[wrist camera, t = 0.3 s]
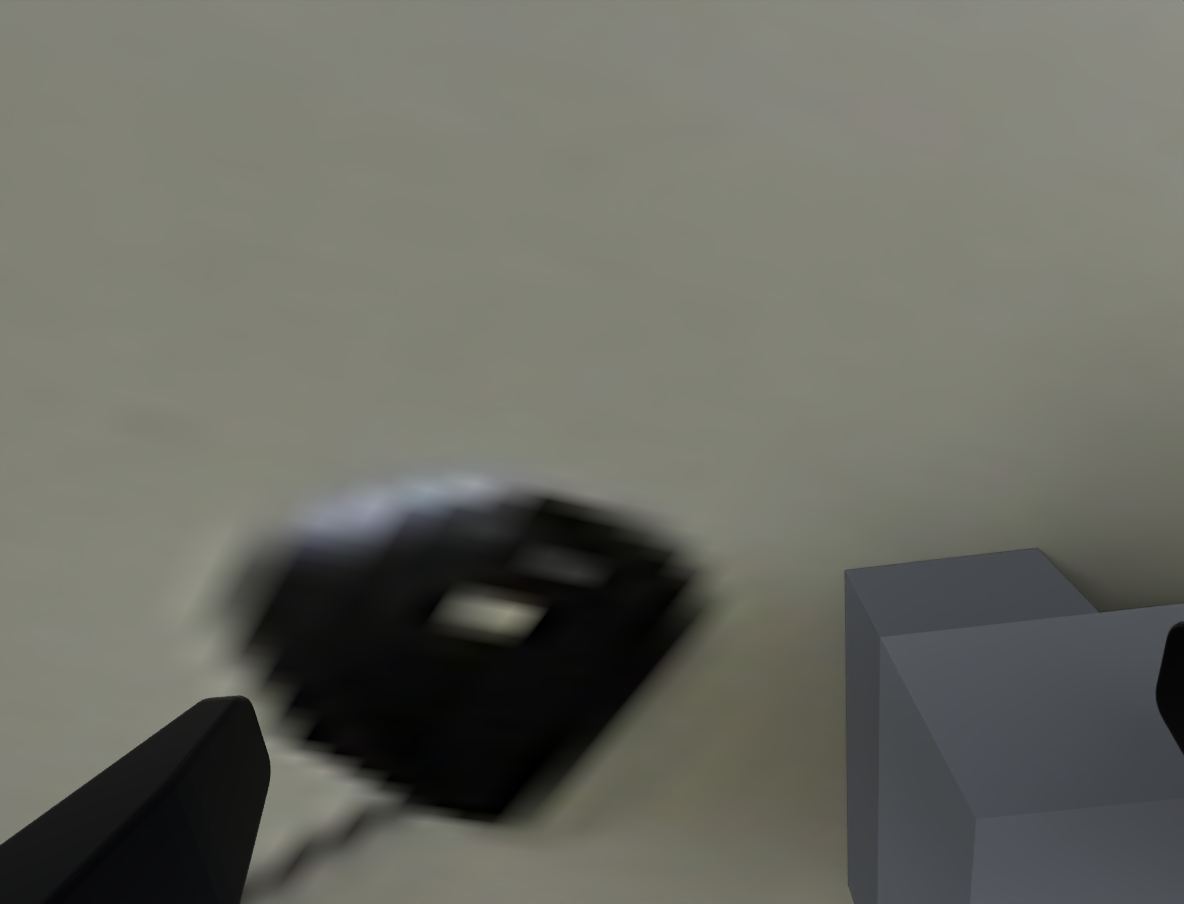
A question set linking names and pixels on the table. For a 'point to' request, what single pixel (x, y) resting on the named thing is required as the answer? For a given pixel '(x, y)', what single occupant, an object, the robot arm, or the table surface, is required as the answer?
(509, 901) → the table surface
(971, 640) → the cabinet
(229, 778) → the robot arm
